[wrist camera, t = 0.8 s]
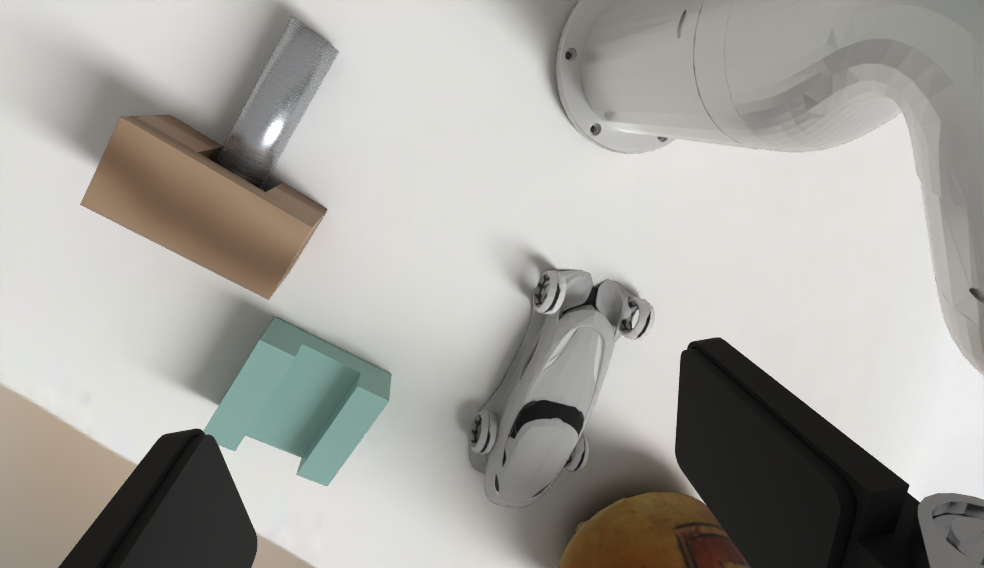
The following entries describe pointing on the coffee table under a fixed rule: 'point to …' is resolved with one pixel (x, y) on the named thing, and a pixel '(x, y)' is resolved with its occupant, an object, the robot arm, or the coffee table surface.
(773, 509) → the robot arm
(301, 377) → the v block
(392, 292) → the coffee table surface
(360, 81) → the coffee table surface
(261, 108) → the axle
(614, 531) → the ceramic pitcher
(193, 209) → the wooden bridge block
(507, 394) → the car model
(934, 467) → the coffee table surface
